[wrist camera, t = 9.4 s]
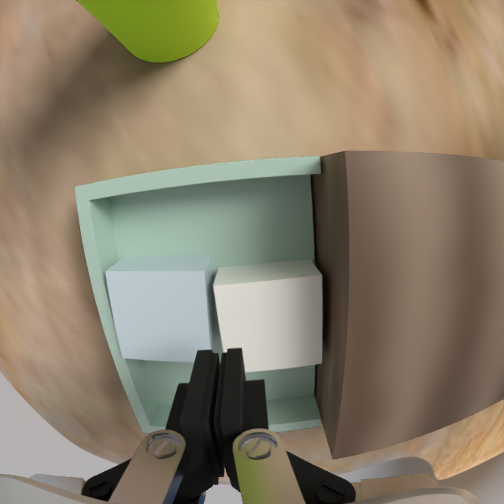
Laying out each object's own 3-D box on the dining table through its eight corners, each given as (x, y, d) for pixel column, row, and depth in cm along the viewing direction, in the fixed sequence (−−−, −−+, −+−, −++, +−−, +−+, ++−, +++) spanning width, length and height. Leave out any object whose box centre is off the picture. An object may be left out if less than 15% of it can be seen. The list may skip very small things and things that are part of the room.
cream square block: (310, 258, 16) (321, 275, 14) (311, 337, 18) (321, 363, 15) (218, 267, 16) (213, 285, 14) (229, 346, 18) (227, 373, 15)
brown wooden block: (491, 164, 16) (551, 169, 10) (467, 359, 20) (505, 397, 14) (310, 159, 16) (344, 151, 10) (314, 397, 20) (332, 459, 14)
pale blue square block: (105, 271, 13) (125, 256, 16) (122, 358, 15) (137, 334, 17) (204, 270, 14) (211, 254, 16) (211, 362, 15) (216, 336, 17)
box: (306, 159, 16) (319, 156, 13) (312, 397, 20) (320, 426, 17) (100, 184, 16) (74, 186, 13) (152, 405, 20) (142, 432, 17)
